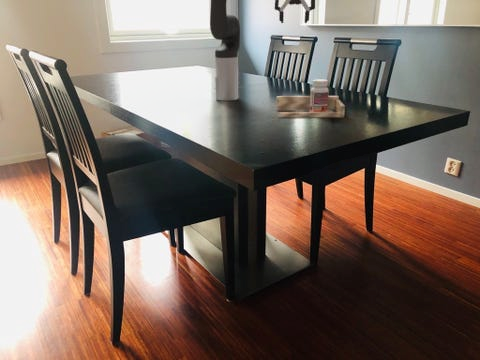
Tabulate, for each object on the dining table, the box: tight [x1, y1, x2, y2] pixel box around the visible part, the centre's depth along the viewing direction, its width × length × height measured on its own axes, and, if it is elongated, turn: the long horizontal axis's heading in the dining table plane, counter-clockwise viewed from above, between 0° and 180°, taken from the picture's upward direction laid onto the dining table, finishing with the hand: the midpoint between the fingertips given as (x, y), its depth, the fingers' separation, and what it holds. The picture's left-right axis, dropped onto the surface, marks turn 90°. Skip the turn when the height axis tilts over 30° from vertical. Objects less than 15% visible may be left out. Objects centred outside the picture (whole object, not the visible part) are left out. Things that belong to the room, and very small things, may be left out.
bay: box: [275, 95, 346, 118], centre depth 139 cm, size 23×13×5 cm, turn 88°
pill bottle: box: [310, 78, 330, 112], centre depth 138 cm, size 6×6×11 cm
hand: (294, 22), depth 142 cm, fingers open, 8 cm apart
